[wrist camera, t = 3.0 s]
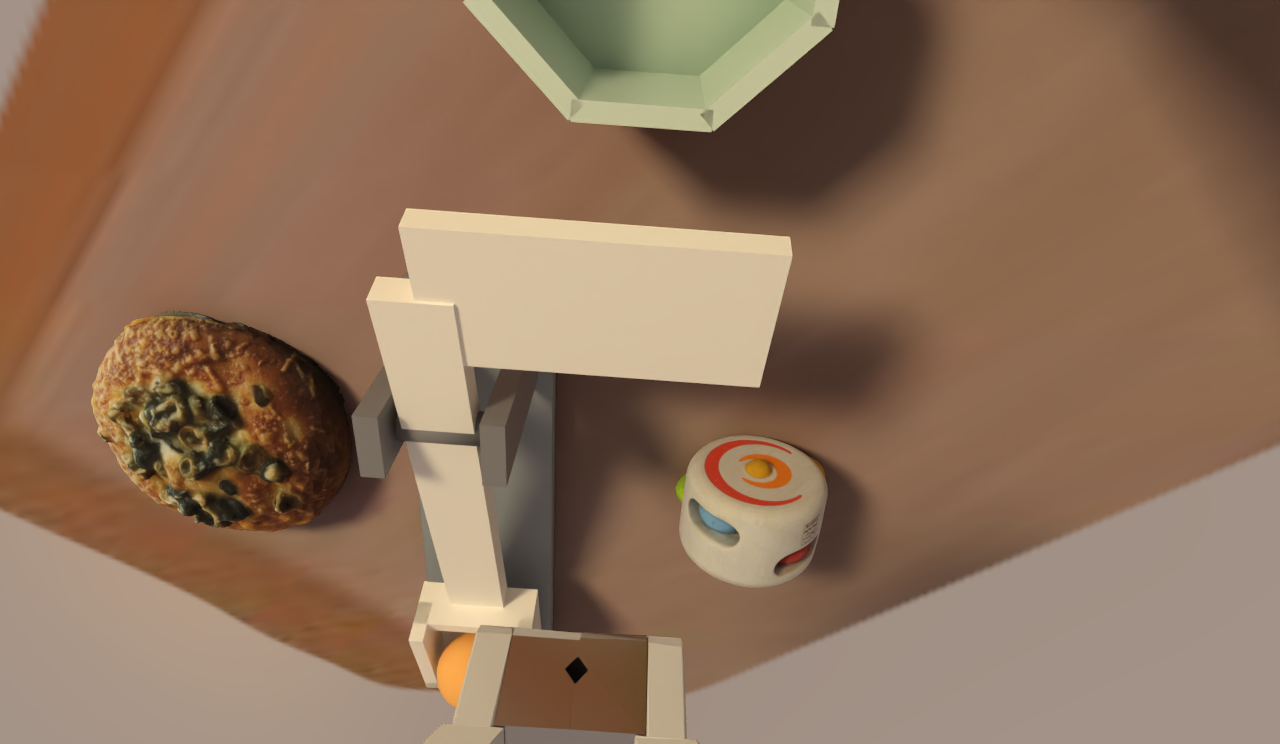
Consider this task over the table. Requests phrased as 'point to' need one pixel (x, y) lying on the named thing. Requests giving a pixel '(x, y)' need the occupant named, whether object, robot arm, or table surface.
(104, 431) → the bread roll
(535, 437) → the catapult base
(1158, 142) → the table surface
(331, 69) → the table surface
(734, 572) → the roller toy
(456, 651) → the ball
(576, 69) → the cup
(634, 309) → the lever
